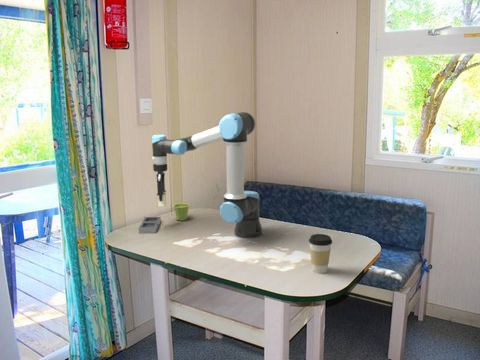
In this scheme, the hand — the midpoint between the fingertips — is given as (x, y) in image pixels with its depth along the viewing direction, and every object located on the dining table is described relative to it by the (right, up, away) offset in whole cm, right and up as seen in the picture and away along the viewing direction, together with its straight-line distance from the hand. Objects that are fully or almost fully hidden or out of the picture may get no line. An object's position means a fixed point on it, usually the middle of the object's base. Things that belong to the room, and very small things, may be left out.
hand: (161, 204), depth 252 cm
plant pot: (+9, -10, +18) cm, 22 cm away
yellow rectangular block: (0, 0, 0) cm, 0 cm away
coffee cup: (+77, -25, -56) cm, 99 cm away
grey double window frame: (-7, -13, +5) cm, 15 cm away
